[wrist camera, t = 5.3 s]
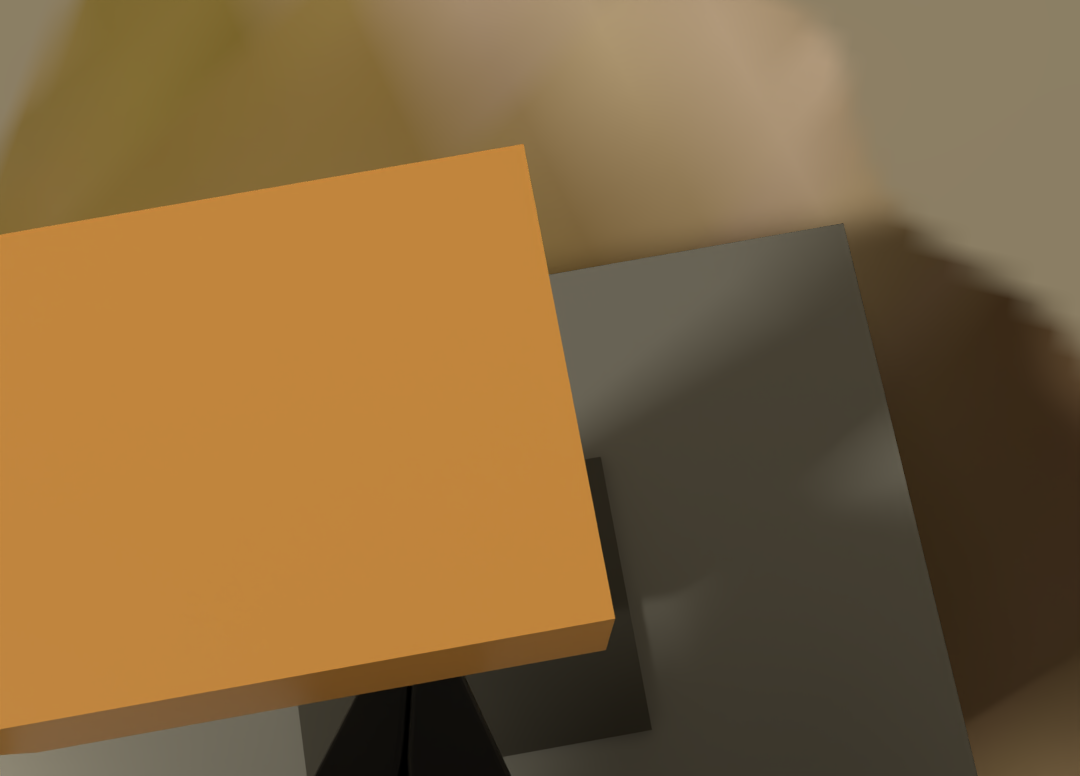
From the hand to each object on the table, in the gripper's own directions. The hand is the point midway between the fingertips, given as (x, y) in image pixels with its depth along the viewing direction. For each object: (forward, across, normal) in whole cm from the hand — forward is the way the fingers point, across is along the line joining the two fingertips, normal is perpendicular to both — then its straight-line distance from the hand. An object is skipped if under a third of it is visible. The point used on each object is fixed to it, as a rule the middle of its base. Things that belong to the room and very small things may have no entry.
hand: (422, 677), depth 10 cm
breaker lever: (+3, 0, +2) cm, 3 cm away
